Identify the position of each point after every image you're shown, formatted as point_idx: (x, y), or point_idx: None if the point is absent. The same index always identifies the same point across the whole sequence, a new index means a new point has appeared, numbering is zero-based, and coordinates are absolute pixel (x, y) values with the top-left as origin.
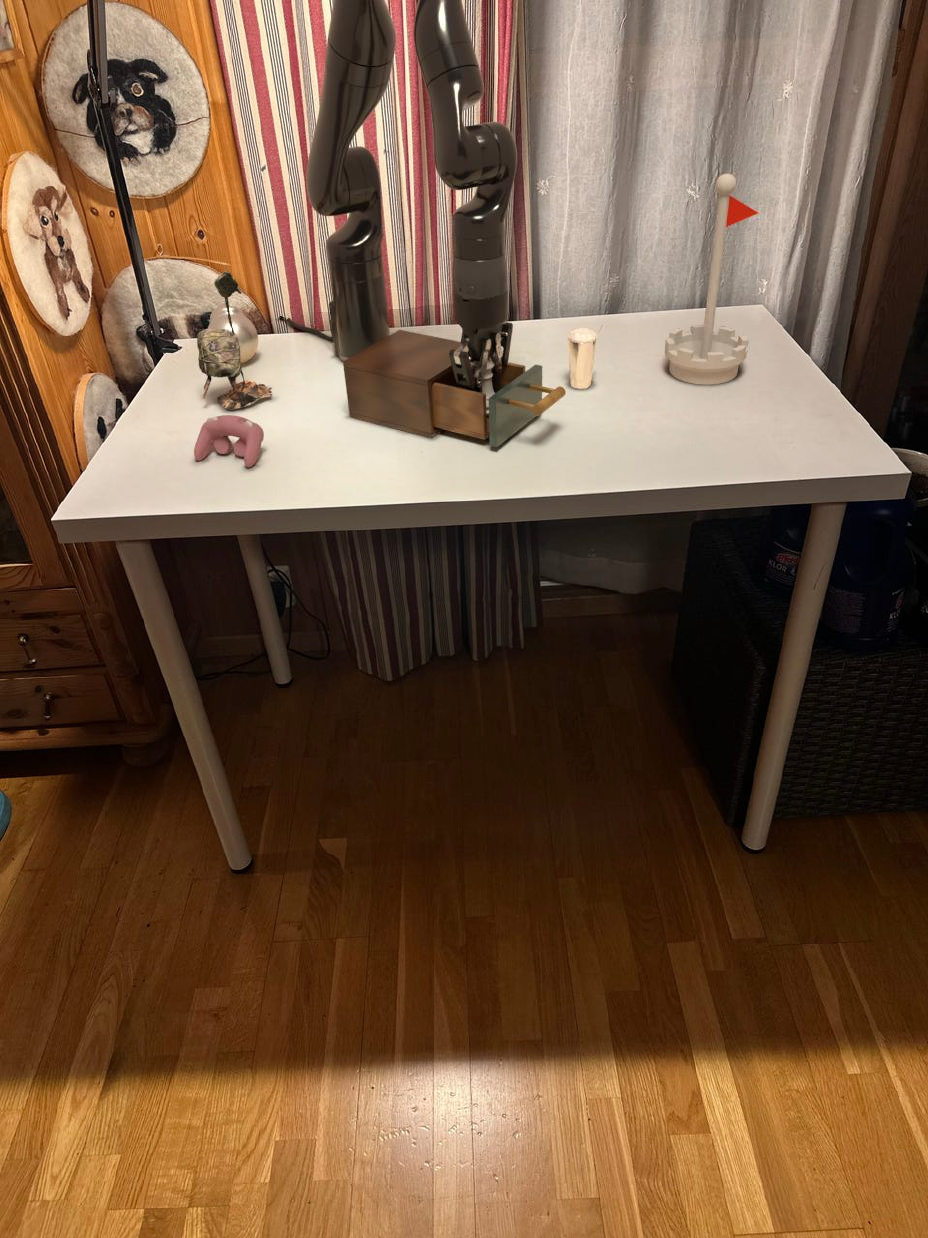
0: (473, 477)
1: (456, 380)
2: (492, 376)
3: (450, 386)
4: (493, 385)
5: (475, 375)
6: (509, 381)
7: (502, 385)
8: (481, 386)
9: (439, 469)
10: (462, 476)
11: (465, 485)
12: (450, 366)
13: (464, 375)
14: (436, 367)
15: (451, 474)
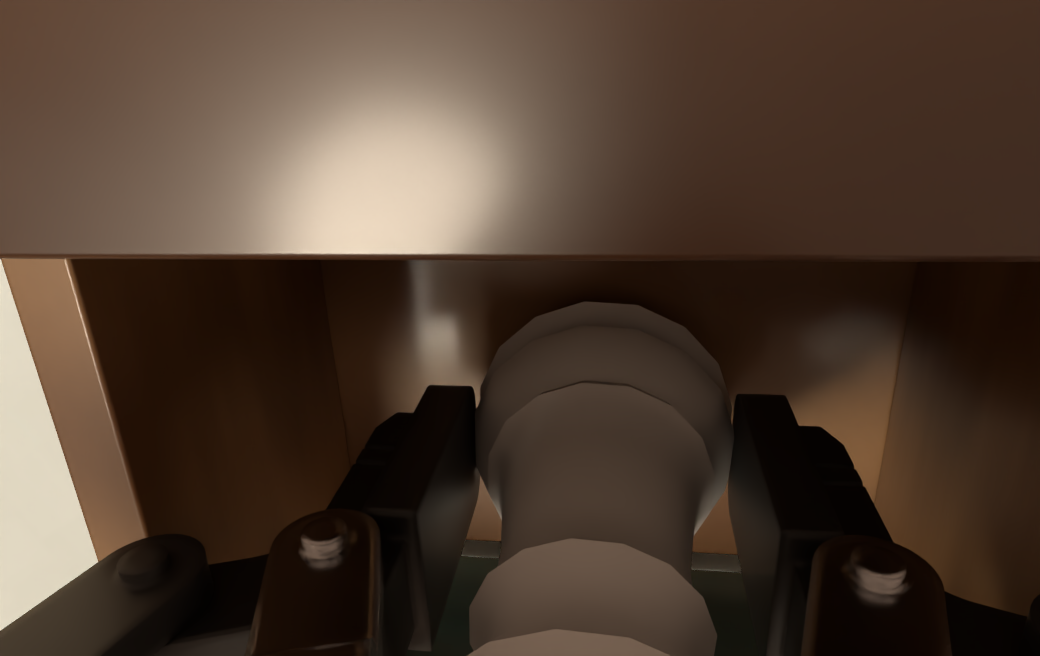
0: (86, 566)
1: (63, 599)
2: (765, 603)
3: (107, 451)
4: (747, 538)
5: (489, 598)
6: (950, 591)
7: (941, 483)
8: (420, 646)
9: (16, 391)
10: (55, 521)
11: (11, 567)
12: (406, 257)
13: (261, 603)
14: (194, 62)
15: (29, 468)
